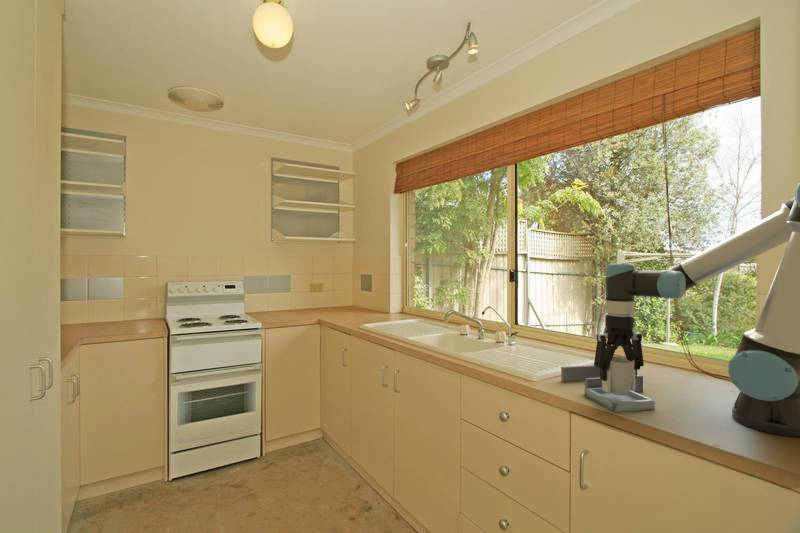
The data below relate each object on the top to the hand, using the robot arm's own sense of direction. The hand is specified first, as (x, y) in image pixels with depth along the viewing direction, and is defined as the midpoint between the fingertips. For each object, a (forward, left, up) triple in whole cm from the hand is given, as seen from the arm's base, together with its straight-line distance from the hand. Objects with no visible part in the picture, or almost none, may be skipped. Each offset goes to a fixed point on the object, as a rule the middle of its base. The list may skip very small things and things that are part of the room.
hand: (618, 390), depth 117 cm
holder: (+15, -5, -4) cm, 16 cm away
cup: (0, 0, -1) cm, 1 cm away
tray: (0, 0, -4) cm, 4 cm away
